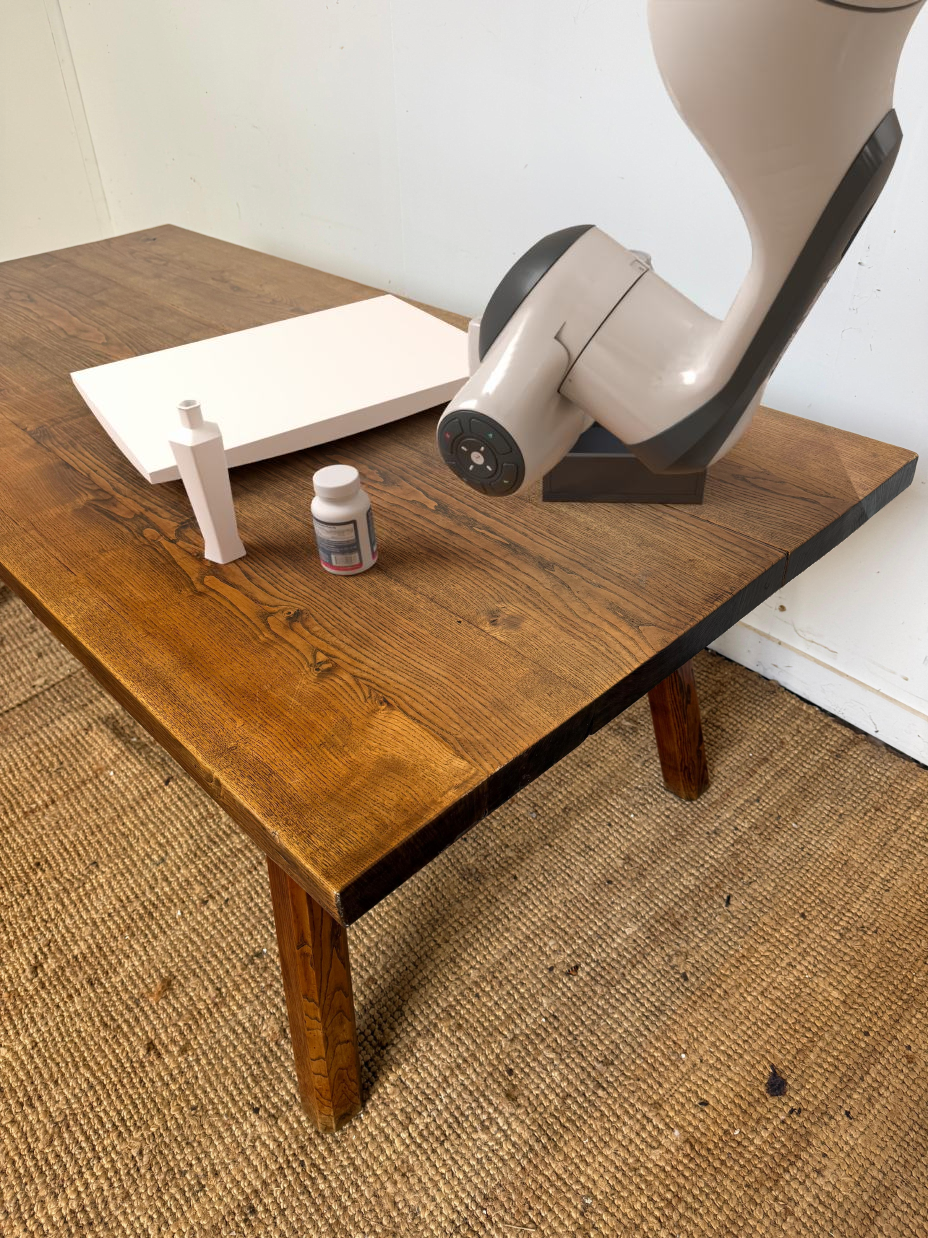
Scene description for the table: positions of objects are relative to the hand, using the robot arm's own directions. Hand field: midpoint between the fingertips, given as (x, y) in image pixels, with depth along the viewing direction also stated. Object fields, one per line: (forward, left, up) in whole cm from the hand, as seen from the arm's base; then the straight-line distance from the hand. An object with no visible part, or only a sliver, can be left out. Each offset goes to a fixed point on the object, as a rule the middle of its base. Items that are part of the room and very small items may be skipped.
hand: (621, 316), depth 80 cm
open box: (-1, -3, -17) cm, 17 cm away
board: (+38, -18, -17) cm, 46 cm away
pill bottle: (+24, +16, -17) cm, 33 cm away
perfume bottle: (+36, +15, -17) cm, 42 cm away
